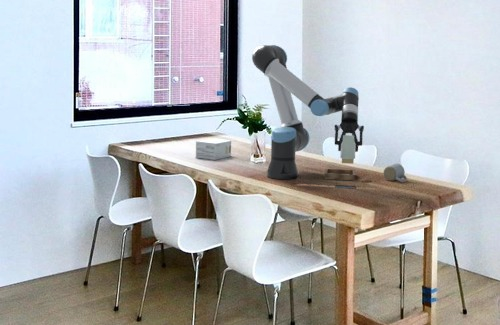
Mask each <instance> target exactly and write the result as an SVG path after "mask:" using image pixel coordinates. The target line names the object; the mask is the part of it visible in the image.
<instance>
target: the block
mask: <svg viewBox="0 0 500 325" xmlns="http://www.w3.org/2000/svg"><path fill="white" fill-rule="evenodd" d="M342 143H343V148H342V158H341V164H352V165H353V164H354V163H355V162H354V159H353V155H354V143H355V142H354V136H352V135H347V134H346V135H343V142H342Z"/></svg>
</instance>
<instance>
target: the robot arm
mask: <svg viewBox="0 0 500 325" xmlns="http://www.w3.org/2000/svg"><path fill="white" fill-rule="evenodd" d="M251 59H252V63H253V65H254V66H255V67H256V69H258V70H259V72H261V73H263V74H264V76H265V77H267V78H268V80H269V84H270V88H271V92H272V95H273V99H274V102H275V105H276V106H275V107H276V110H277V112H278V116H279V120H280V126H279V127H276V128H274V129H272V131H271V136H270V139H271V144H270V149H271V150H270V162H269V164H268V165H269V166H268V168H267V170H266V171H267V172H266V176H267V177H268V178H271V179H274V180H275V179H277V180H292V179H293V180H294V179H297V178H298V177H299V171H298V168H297V163H296V152H301V151H302V150H304V149H305V148H306V147H308V145H309V142H310V134H309V132H308V130H307V129H306V128H304V124H303V121H301V120H299V118H298V114H297V111H296V107H295V104H294V100H293V97H292V95H293V96H295V97H296V99H298V100H299V101H300V102H302V103H303V104H304V105H306V107H308V108H309V109H310V112H311V113H312V114H313V115H314V116H316V117H323V116H328V115H331V114H334V113H339V112H341V122H340V124H339V125H338V124H335V125H334V145H335V146H337V147H338V148H337V151H338V152H340V159H342V148H343V135H347V134H351V136H354V155H353V159H356V153H358V151H359V147H360V146H361V147H362V146H363V132H364V131H365V126H364V125H360V124H359V122H358V121H359V100H360V99H359V91H358V90H357V89H356V88H355V87H351V86H350V87H346V88H345V89H343V91H342V93H341V94H339V95H336V96H332V97H328V98H324V97H322V96H321V95H320V94H319V93H318V92H317V91H315V90H314V89H312V88H311V87H310V86H309V85H308V84H307V83H305V82H304V81H302V79H301V78H299V77H298V76H296V75H295V74H294V73H293V72H291V71H290V70H289V69H288V67H287V61H288V55H287V52H286V51H285V49H284V48H283V47H281V46H279V45H275V44H272V45H271V44H270V45H268V44H267V45H266V44H265V45H263V44H262V45H259V46H257V47H256V48H255V49H254V51H253V53H252V55H251ZM340 129H341V130H342V132H341V134H340V137H339V131H340ZM357 130H358V132H359V140H358V137H357V133H356V131H357ZM338 137H339V138H338ZM338 139H339V140H338Z"/></svg>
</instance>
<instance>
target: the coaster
mask: <svg viewBox="0 0 500 325" xmlns="http://www.w3.org/2000/svg"><path fill="white" fill-rule="evenodd" d="M334 188H336V189H337V188H338V189H350V190H351V189H353V190H354V189H355V190H356V186H355V185H345V184H344V185H342V184H334Z"/></svg>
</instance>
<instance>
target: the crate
mask: <svg viewBox="0 0 500 325" xmlns="http://www.w3.org/2000/svg"><path fill="white" fill-rule="evenodd" d="M355 170H356V169H347V168H346V169H345V168H343V169H342V168H325V170H324V176H323V177H324V180H337V181H339V180H340V181H355V178H356V176H355V175H356V171H355Z"/></svg>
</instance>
